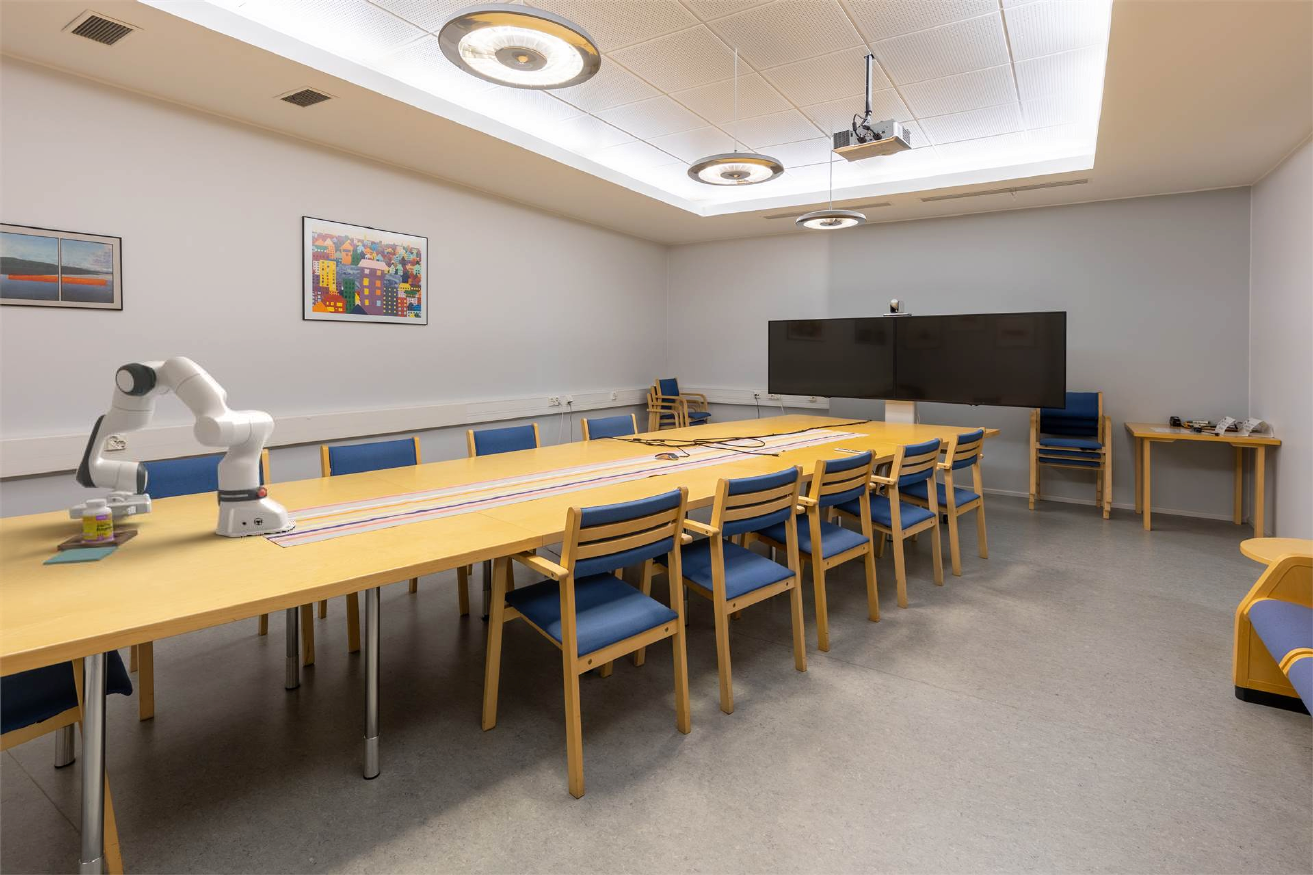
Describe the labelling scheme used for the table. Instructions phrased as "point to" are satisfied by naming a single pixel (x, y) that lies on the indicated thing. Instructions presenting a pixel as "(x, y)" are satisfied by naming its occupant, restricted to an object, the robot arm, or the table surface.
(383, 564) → the table surface
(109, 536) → the supplement bottle
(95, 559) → the teal mat
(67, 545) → the brown wooden square frame
